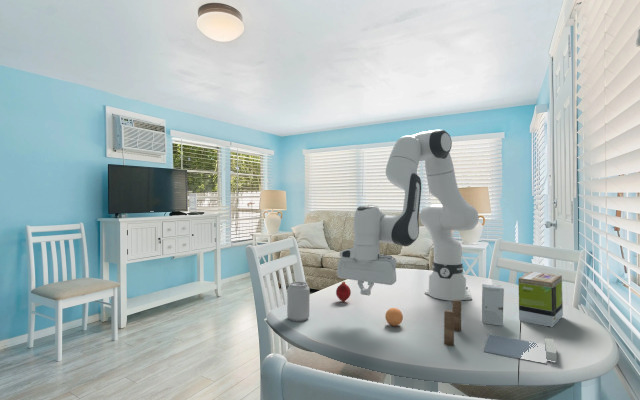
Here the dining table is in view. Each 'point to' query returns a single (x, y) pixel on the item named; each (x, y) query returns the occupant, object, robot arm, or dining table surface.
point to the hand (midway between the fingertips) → (365, 294)
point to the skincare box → (492, 304)
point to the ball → (394, 316)
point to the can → (298, 301)
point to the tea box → (540, 298)
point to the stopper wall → (550, 349)
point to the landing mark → (507, 346)
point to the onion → (343, 292)
